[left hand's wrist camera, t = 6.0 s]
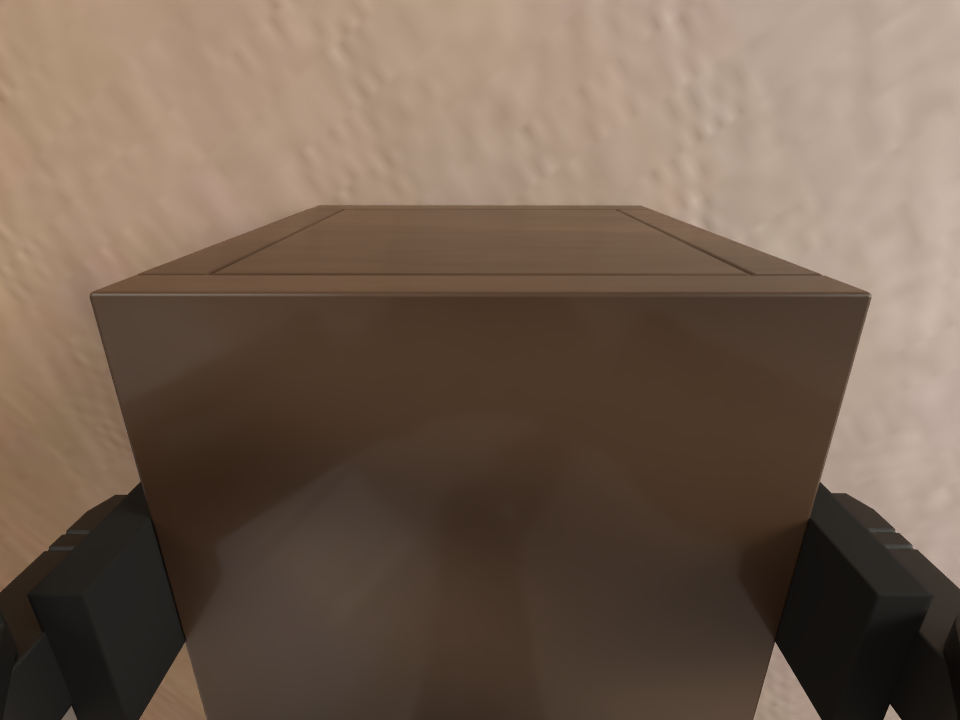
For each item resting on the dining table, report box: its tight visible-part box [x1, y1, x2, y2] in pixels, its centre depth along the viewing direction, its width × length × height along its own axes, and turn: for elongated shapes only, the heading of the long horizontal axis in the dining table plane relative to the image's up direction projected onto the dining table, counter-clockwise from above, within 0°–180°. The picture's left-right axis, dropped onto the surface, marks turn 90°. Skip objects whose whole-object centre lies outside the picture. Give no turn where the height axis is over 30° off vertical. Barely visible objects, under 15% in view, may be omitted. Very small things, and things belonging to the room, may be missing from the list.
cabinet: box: [90, 206, 871, 720], centre depth 16 cm, size 21×11×11 cm, turn 0°
